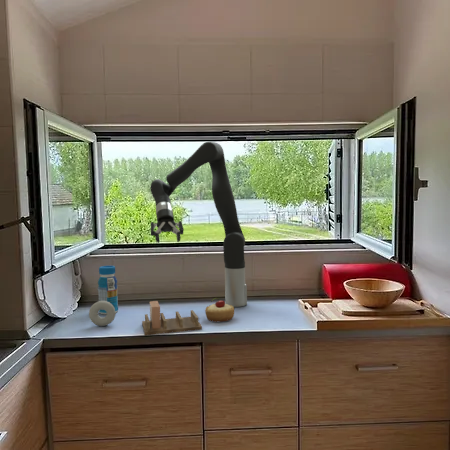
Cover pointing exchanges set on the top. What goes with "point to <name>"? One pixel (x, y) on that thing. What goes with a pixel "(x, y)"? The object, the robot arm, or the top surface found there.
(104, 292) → the beverage bottle
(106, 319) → the donut
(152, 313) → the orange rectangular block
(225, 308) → the pastry
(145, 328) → the dish stand
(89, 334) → the top surface
